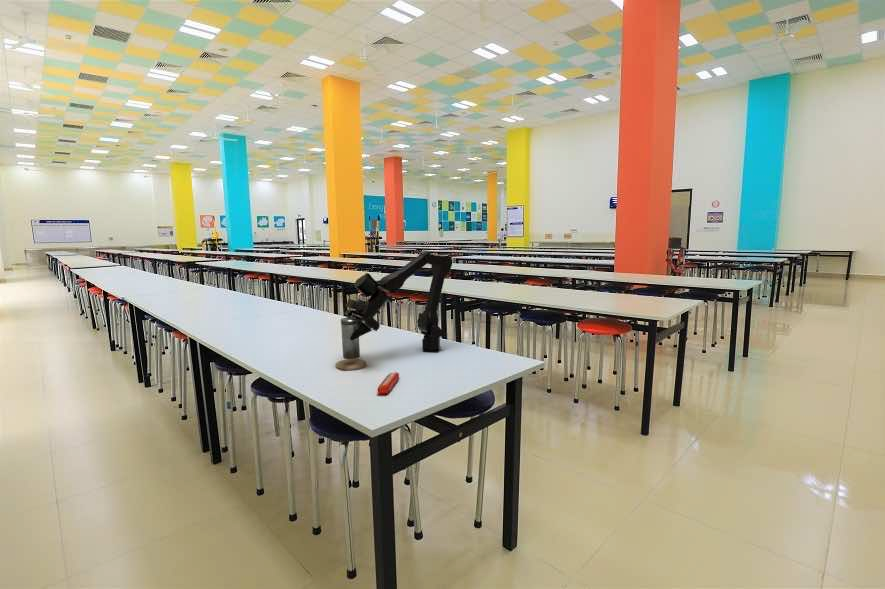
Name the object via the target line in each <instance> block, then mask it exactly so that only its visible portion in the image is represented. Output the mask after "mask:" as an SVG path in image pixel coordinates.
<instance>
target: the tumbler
mask: <svg viewBox="0 0 885 589" xmlns="http://www.w3.org/2000/svg"><path fill="white" fill-rule="evenodd" d="M340 326H341V327H340V328H341V329H340V330H341V341H342V343H341V344H342V345H341V346H342V358H343V360H346V359H360V358H361V357H360V356H361V351H360V347H361V346H360V337H358V338H356V339H354V340H350V337H351V335H352V334H353V332H354V331H355V329H356V327H357V326H358V318H356V317H347V316H346V317H342V318H341V319H340Z"/></svg>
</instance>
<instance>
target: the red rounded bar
mask: <svg viewBox="0 0 885 589" xmlns="http://www.w3.org/2000/svg"><path fill="white" fill-rule="evenodd" d="M399 379H400V373H399V372H397V371H395V372H391V373H388V375H386V377H384V379H383V381H381V383H380V384H379V386H378V387H377V390H376V391H377V394H376V395H380V396H381V395H385V394H389V393H390V391H392V389H393V388H394V386H395V385H396V383H397V382H398V380H399Z"/></svg>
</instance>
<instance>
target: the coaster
mask: <svg viewBox="0 0 885 589" xmlns="http://www.w3.org/2000/svg"><path fill="white" fill-rule="evenodd" d="M367 366H368V362H367V360H365V359H363V358H356V359H342V360H340V361H337V362H336V363H335V369H337V370H339V371H344V372H346V371H347V372H348V371H349V372H350V371H359V370H363V369H364V368H366V367H367Z"/></svg>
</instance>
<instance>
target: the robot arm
mask: <svg viewBox="0 0 885 589" xmlns="http://www.w3.org/2000/svg"><path fill="white" fill-rule="evenodd" d="M426 265H430V266H431V268H430V269H431V274H432V278H431V282H430V287H429V291H428V292H429V293H428V295H427V300H426V304H425V308H424V310H423V312H418V318H417V321H416V323H417V328H418V330H419V331H420V333H421V335H423V338H422V342H421V343H422V344H421V345H422V348H421V349H422V352H423V353H424V352H428V353H439V352H440V350H441V348H442V347H441V337H443V335H444V330H443V329H442V328H441V327H440V326H439V316H438V309H439V304H440V300H441V296H442V293H443V292H442V291H443V287H444V282H445V279H446V277H447V276H448V275H449V273H450V272H451V269H452V266H453V259H452V257H451V256H449V255H446V254H445V255H444V254H432V253H430V252H420V253H419V254H418V255H417V256H416V257H414V258H413V259H412V260H410V261H409V262H407V263H406V264H405V265H404V266H402V267H401V268H399V270H397V271H393V272H391V273H389V274H387V275H384V276H383V277H382V278H381V279H379V280H375V279H374V278H373V276H372V275H371V274H370V273H368V272H366V273H364V274H363V275H361V276H360V277H359V278H357V279H356V280H355V281H354V285H353V286H354V287H355V288H356V289H357V290H358V291H359V292H360V293H361V294H362V295H363V296H365V297H368V299H367V300H362V299H356V300H354V299H351V298H348V299H347V302H346V304H345V307H346V308H348V309H347V310H345V311H344V314H345V315H346V318H347V317H356V318H358V326H357V327H356V329H355V331H354V332H353V334H352V335H351V337H350V340H354V339H356V338H358V337H359V338H360V337H361V336H364V335H366V334H368V333H371V332H373V331H374V332H377V331H378V330H379V329H380V327H381V326H380V325H381V324H380V323H379V322H378V321H377V319H375V316H376V315H379V314H380V313H381V311H380V310H381V308H383V306H384V305H385V303H387V302H388V303H391V304H392V303H393V295H391V294H392V293H394V294H395V293H397V292H398V291H399V290H400V289H401V288H402V287H403V286H404V284H405V282H406V281H407V279H409V278H411V276H413V275H414V274H415V273H417V272H418V271H419V270H421V269H423V267H424V266H426ZM379 288H380V289H381V290H380V289H379ZM388 293H391V294H388Z"/></svg>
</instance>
